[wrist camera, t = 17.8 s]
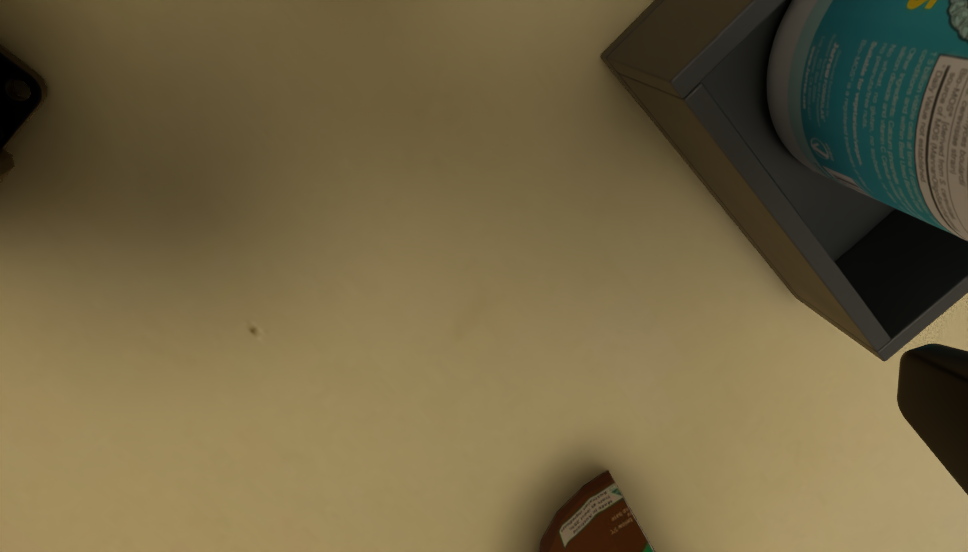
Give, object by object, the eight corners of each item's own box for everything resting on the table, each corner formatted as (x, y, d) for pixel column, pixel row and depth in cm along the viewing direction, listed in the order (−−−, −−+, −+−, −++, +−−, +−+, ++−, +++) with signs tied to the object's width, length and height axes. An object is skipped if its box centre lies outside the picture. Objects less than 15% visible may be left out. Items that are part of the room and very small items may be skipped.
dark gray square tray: (599, 55, 20) (670, 81, 16) (940, -287, 18) (1116, -354, 14) (796, 298, 25) (884, 362, 21) (1073, 54, 23) (1227, 76, 19)
